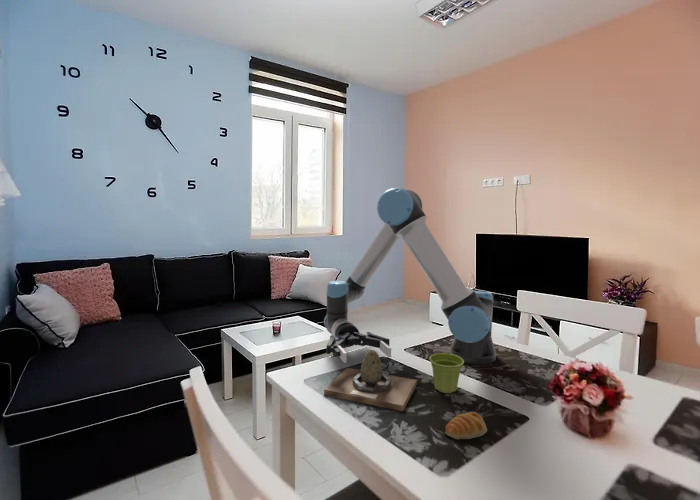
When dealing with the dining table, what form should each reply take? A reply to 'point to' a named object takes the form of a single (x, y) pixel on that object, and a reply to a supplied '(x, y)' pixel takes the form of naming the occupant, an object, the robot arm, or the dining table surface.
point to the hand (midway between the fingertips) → (368, 355)
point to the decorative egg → (371, 368)
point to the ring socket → (372, 388)
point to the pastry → (466, 426)
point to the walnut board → (390, 399)
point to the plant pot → (446, 371)
